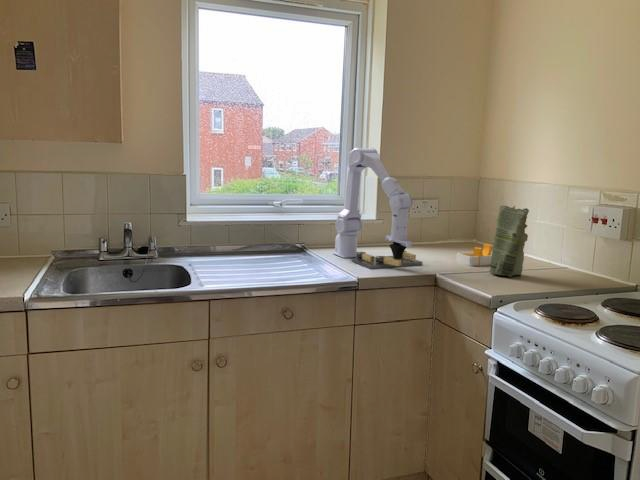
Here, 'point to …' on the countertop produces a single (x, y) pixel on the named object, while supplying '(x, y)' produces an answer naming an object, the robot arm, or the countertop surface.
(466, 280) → the countertop surface
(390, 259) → the near knob
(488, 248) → the pipe clamp
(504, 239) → the pouch
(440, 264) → the countertop surface
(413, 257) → the far knob
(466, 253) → the parts bin frame
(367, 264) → the levelling plate
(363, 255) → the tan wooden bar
